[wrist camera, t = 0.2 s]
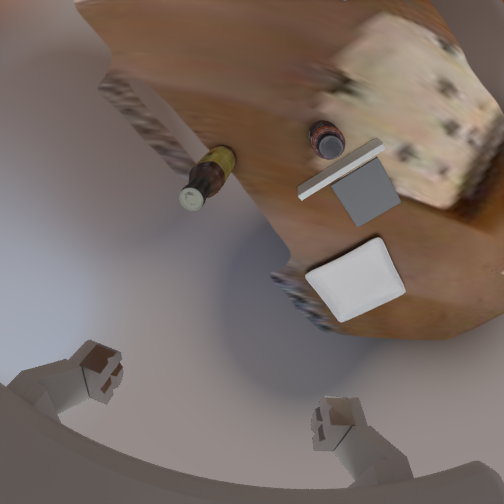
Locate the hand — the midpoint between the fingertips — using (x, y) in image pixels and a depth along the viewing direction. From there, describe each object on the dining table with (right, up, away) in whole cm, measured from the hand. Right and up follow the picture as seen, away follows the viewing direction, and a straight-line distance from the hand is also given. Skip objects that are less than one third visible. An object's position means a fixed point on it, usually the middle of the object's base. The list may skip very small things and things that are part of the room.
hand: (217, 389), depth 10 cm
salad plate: (+29, -1, +60) cm, 67 cm away
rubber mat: (+26, +18, +46) cm, 56 cm away
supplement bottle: (+15, +29, +41) cm, 52 cm away
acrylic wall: (+19, +23, +44) cm, 53 cm away
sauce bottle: (-5, +25, +47) cm, 53 cm away
